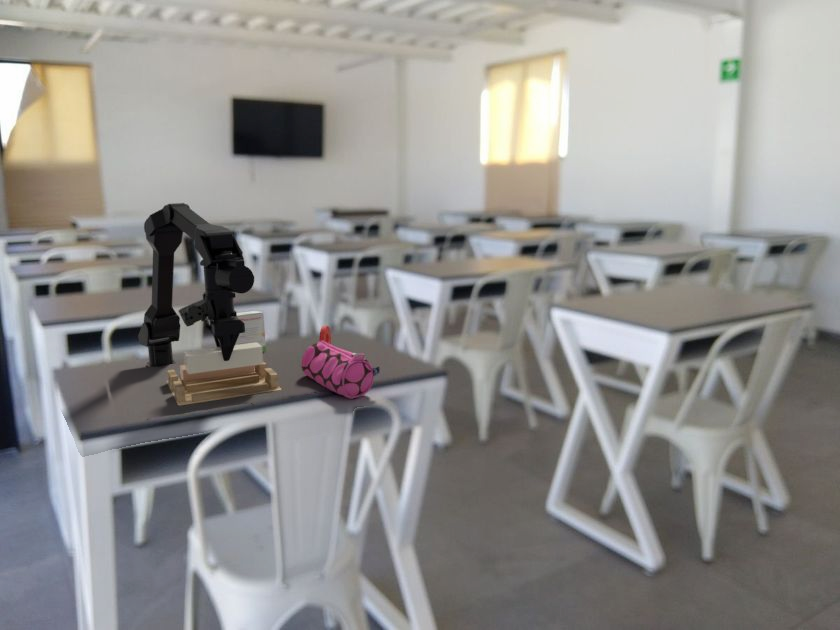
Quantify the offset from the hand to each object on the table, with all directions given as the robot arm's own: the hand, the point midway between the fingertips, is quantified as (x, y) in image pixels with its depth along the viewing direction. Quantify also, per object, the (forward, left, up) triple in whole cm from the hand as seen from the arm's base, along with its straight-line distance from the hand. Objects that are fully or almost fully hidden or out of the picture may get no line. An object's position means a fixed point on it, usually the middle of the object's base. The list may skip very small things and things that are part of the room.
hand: (224, 358), depth 154 cm
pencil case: (+7, +24, -9) cm, 26 cm away
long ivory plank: (0, 0, -2) cm, 2 cm away
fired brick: (-10, 0, -8) cm, 12 cm away
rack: (-5, 0, -9) cm, 10 cm away
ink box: (-32, +12, -9) cm, 35 cm away
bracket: (-21, +28, -9) cm, 36 cm away
